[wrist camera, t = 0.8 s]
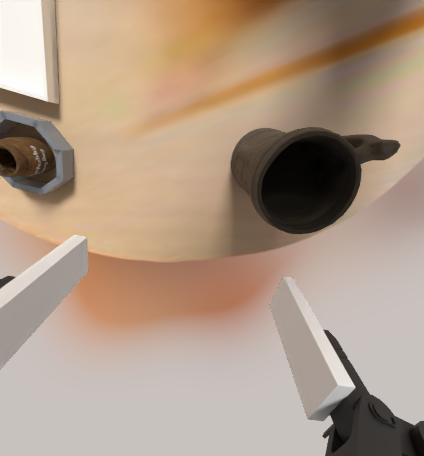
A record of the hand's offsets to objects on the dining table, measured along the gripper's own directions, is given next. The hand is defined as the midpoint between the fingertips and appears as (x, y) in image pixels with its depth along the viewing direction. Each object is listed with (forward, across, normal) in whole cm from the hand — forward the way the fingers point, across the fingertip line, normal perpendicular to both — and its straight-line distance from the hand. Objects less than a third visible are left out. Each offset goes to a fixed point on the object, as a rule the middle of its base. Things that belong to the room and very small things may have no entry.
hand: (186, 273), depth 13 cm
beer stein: (+27, +11, +8) cm, 30 cm away
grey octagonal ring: (+26, -29, -2) cm, 40 cm away
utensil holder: (+27, -29, -2) cm, 40 cm away
